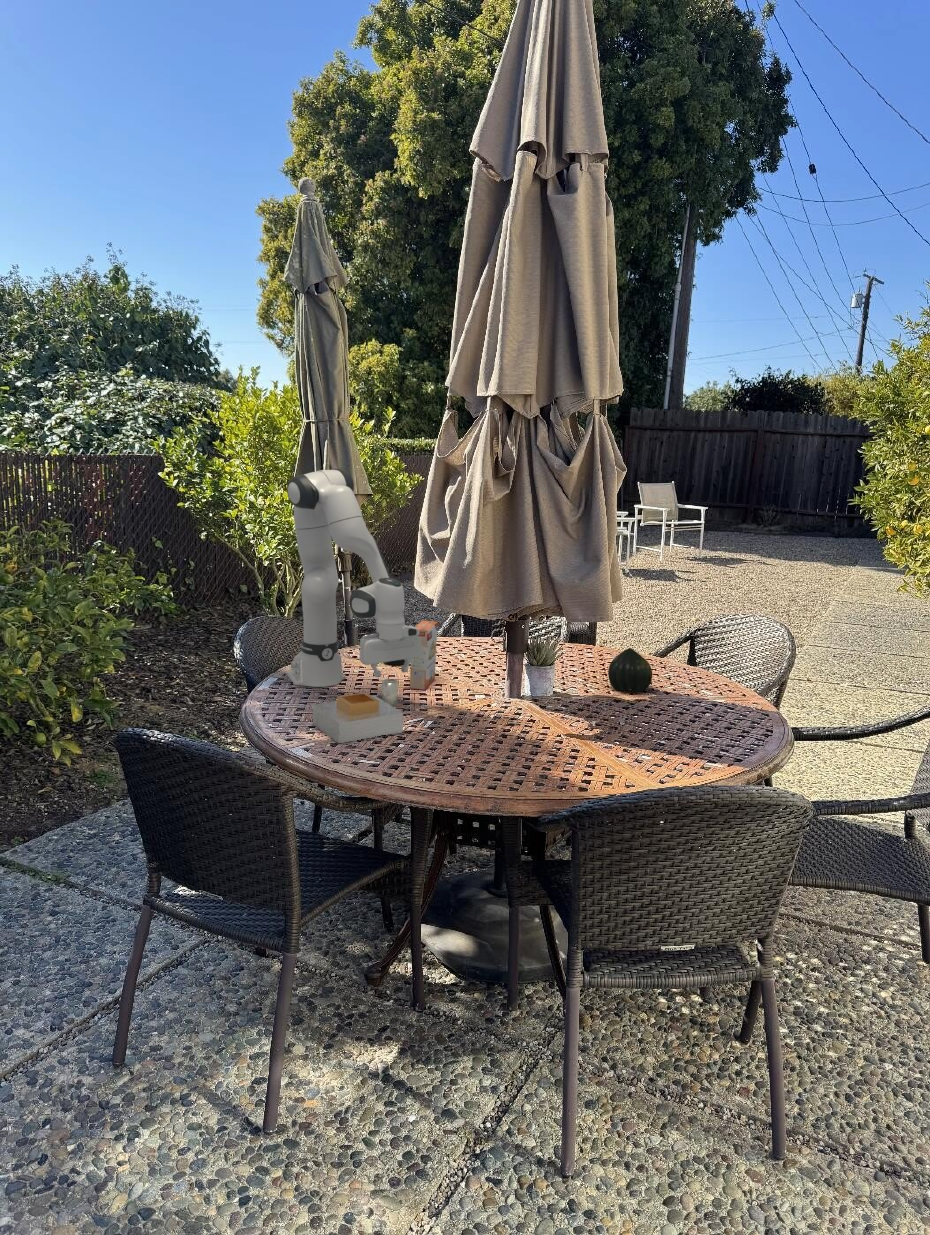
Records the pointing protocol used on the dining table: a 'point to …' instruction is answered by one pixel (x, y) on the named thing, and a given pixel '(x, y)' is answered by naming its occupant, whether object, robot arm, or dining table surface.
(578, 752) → the dining table surface
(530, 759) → the dining table surface
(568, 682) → the dining table surface
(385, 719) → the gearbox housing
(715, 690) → the dining table surface
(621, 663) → the squash
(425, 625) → the cracker box
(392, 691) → the clear glass cup
